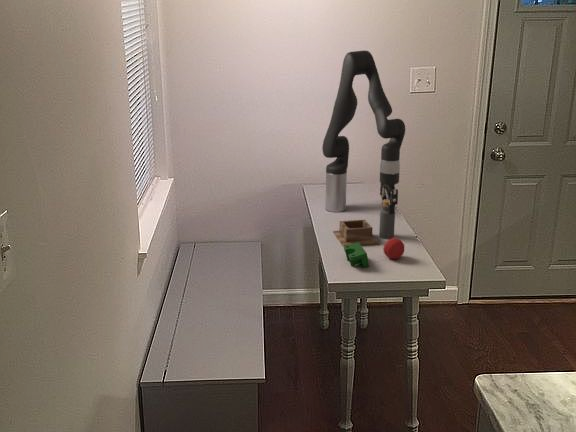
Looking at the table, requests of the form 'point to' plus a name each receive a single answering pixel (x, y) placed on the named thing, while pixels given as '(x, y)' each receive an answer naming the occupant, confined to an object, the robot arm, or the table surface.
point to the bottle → (386, 221)
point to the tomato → (394, 248)
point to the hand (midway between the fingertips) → (388, 210)
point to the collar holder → (355, 233)
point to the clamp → (356, 254)
